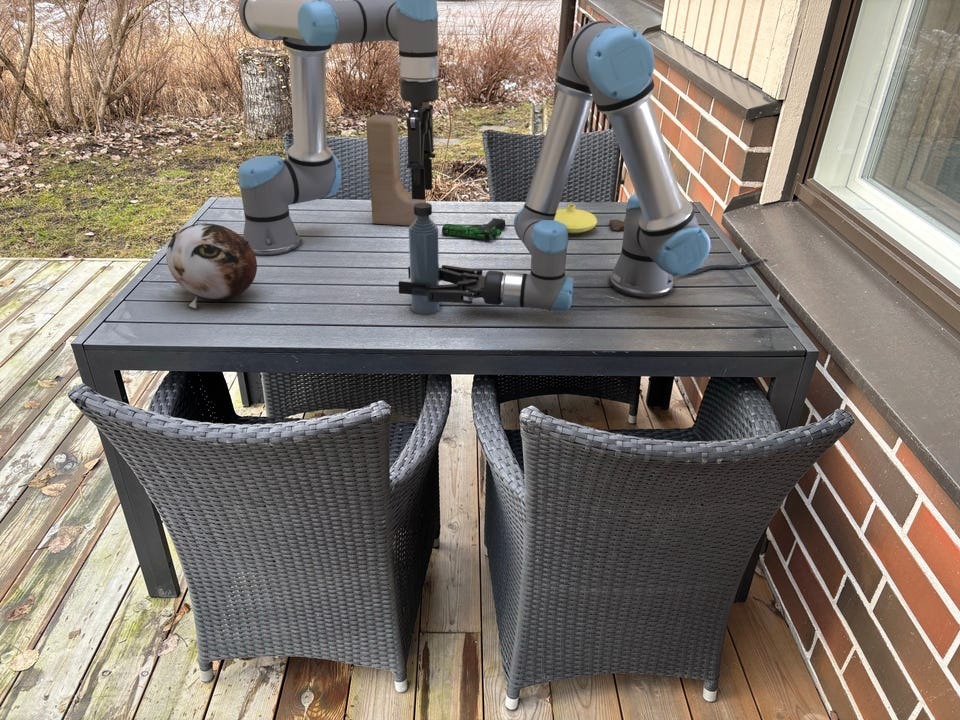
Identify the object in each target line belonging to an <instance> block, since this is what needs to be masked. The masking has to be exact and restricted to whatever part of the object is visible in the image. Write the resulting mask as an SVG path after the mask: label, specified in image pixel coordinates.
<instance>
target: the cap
mask: <svg viewBox="0 0 960 720" xmlns="http://www.w3.org/2000/svg"><path fill="white" fill-rule="evenodd" d="M414 214H415V215H416V216H429V217H430V216H432V214H433V207H432V204H431V203H429V202H426V203H416V204H415V205H414Z"/></svg>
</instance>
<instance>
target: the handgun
mask: <svg viewBox="0 0 960 720" xmlns="http://www.w3.org/2000/svg"><path fill="white" fill-rule="evenodd" d="M505 228H506V220H505V219H503V218H497V217H492V219H491V220H490V221H489V222H488V223H483V224H482V225H479V224H472V225H459V224H453V223H445V224H443V226H442V227H441V235H446V236H454V237H462V238H469V239H470V238H471V239H474V240H479V241H484V242H491V241H492V240H494V239H495V238H497V237H500V236H502V230H504V229H505Z"/></svg>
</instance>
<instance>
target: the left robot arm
mask: <svg viewBox="0 0 960 720" xmlns="http://www.w3.org/2000/svg"><path fill="white" fill-rule="evenodd" d="M238 5H239V6H238V15H239V20H240V23H241V24H242V25H241V26H242V27H243V28H244V30H245V31H246V32H248V33H249V34H250V35H252V36H253V37H255V38H257V39H260V40H265V41H282V46H283V47H284V48H285V49H286V50H287V51H288V52H289V64H290V65H289V66H290V67H289V70H290V91H291V92H290V93H291V111H292V112H291V113H292V114H291V115H292V136H293V137H292V139H293V144H292V145H291V146H290V147H289V148H288V150H287V159H285V160H283V158H282V157H281V156H279V155H275V154H274V155H273V154H269V155H260V156H259V155H258V156H256V157H252V158H250V159H247V160H245V161H244V162H243V163H241V165H239V167H238V170H237V174H238V186H239V190H240V196H241V201H242V208H243V212H244V213H243V215H244V219H245V220H244V226H243V228H244V229H243V235H240V236H241V237H243V238H244V239H245V240H246V241H249V242H248V244H249V245H250V247H251V248H252V250H253V252H254V254H255V256H256V255H257V256H275V255H281V254H282V255H283V254H285V253H289V252H291V251H293V250H296V249H297V248H298V247H299V246H300V244H301V241H300V235H299V233H298V231H297V229H296V227H295V225H294V223H293V220H292V218H291V216H290V207H289V206H291V205H296V204H301V203H306V202H311V201H317V200H324V199H326V198H329V197H333V196H334V195H336V194H337V193H338V191H339V189H340V187H341V184H342V169H341V167H340V166H341V165H340V161H339V159H338V157H337V156H336V155H335V154H334V153H333V150H332V149H331V148H330V147H329V146H328V142H327V141H328V140H327V138H328V137H327V136H328V135H327V133H328V132H327V78H326V77H327V70H326V69H327V68H326V67H327V63H326V61H327V59H326V54H327V53H328V52H330V50H332V45H343V44H355V43H356V44H357V43H371V42H372V43H373V42H388V41H391V42H397V43H398V55H399V57H398V58H399V59H397V60H396V64H397V65H398V66H399V76H400V77H401V78H402V79H400V81H399V87H400V88H399V89H400V98H401V100H402V101H404V102H409V103H410V109H409V110H408V116H406V118H405V121H406V129H407V130H406V131H407V164H406V168H407V169H410V178H411V179H410V180H411V182H410V183H411V194H412V199H419V200H425V199H427V198H426V190H427V191H433V159H435V158H436V157H437V155H436V153H434V151H435V148H434V147H435V145H434V118H433V116H434V105H433V104H430V103H432V102H436V101H437V100H438V99H439V94H440V92H439V90H440V89H439V80H438V79H437V78H438V77H439V74H440V71H439V70H440V69H439V53H438V52H439V12H438V0H240V2H239V4H238ZM178 232H179V231H176V232H174V233H173V234H172V235H171V236H170V237H171V238H173V237H174V235H176V234H177V233H178Z"/></svg>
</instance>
